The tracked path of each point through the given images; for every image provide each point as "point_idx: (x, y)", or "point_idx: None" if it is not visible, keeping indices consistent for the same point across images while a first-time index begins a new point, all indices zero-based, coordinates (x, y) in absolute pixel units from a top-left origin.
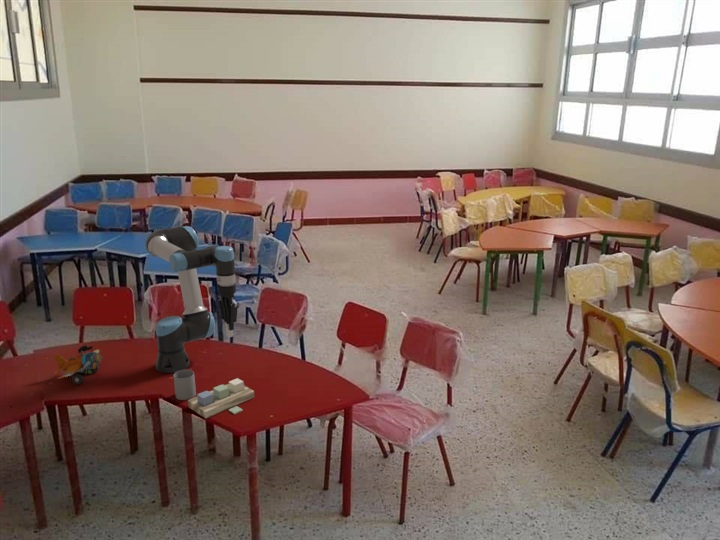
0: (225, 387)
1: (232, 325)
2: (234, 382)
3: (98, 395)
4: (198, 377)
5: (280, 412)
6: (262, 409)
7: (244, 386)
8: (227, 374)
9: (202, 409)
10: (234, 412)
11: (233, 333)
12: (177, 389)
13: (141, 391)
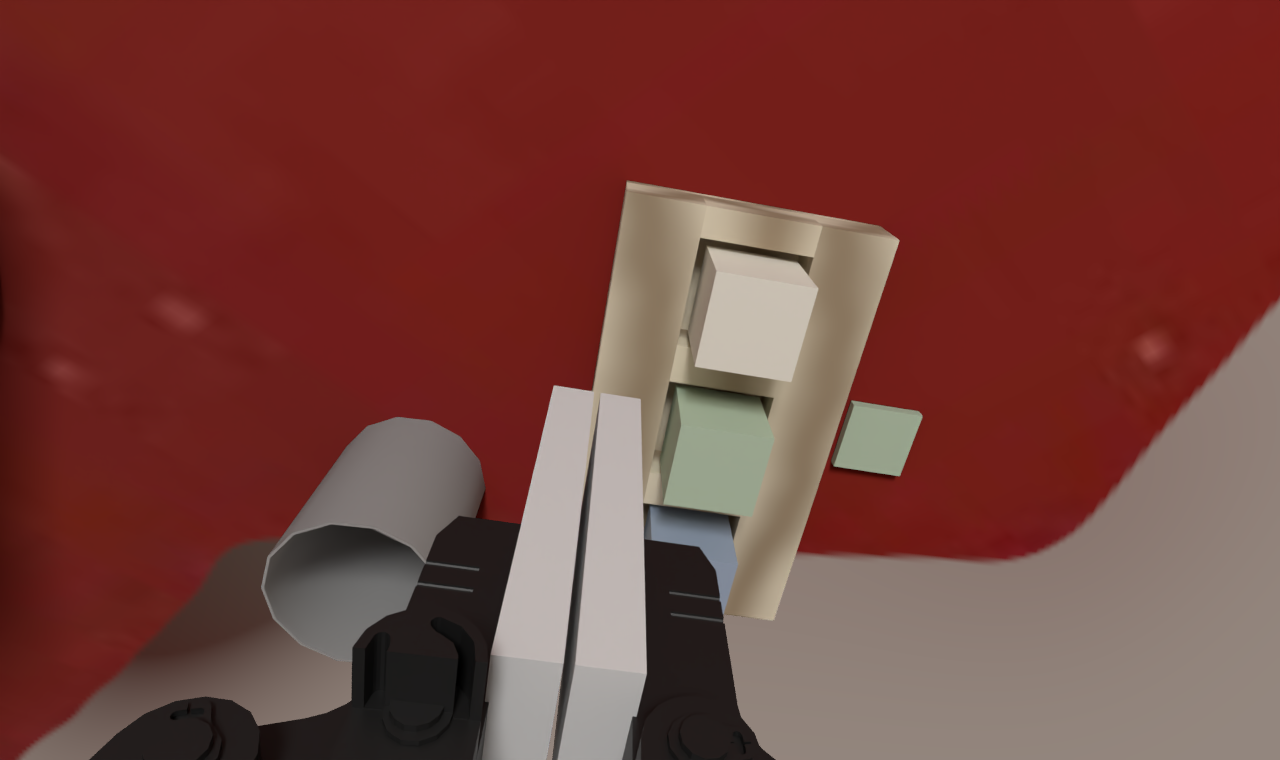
0: (747, 448)
1: (722, 683)
2: (751, 346)
3: (20, 735)
4: (219, 247)
5: (1196, 279)
6: (1042, 322)
7: (769, 227)
8: (361, 42)
9: (735, 611)
10: (895, 470)
11: (640, 433)
12: (406, 590)
13: (142, 596)
